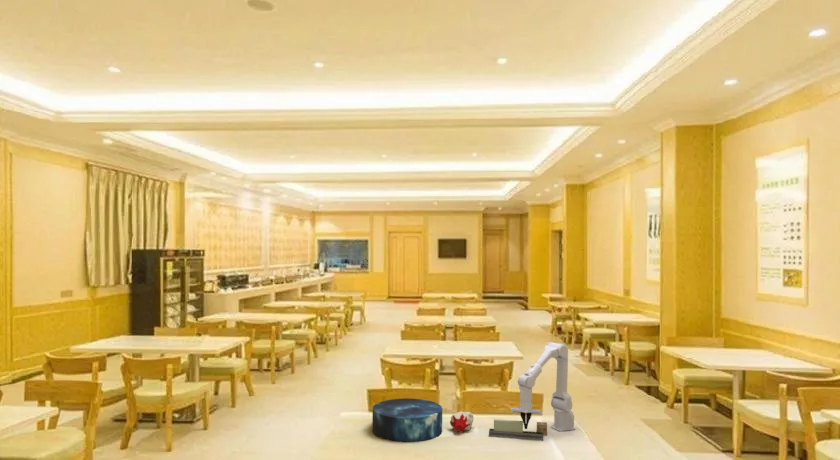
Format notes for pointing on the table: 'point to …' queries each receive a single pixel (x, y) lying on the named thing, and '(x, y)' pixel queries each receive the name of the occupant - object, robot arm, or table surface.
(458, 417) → the rock with red coral
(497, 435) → the track
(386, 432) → the cylinder
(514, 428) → the pale green long bar
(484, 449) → the table surface
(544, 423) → the block
